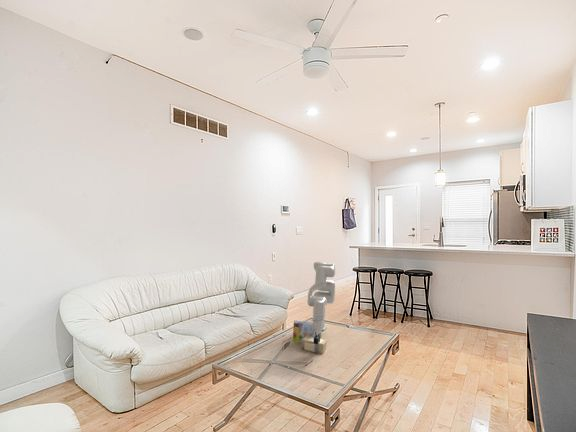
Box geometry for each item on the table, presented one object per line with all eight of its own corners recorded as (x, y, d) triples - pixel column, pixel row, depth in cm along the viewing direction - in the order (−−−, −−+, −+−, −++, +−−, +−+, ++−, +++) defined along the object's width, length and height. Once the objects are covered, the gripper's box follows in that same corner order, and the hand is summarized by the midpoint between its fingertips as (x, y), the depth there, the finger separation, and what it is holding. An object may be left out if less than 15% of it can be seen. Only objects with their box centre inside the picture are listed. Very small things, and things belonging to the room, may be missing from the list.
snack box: (320, 341, 244) (321, 322, 243) (320, 344, 238) (321, 325, 238) (293, 338, 246) (294, 319, 246) (292, 342, 241) (293, 322, 240)
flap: (301, 349, 228) (301, 333, 228) (302, 348, 231) (303, 332, 230) (317, 353, 223) (318, 337, 222) (318, 352, 225) (319, 336, 225)
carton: (305, 343, 238) (306, 335, 238) (326, 348, 232) (326, 340, 232) (302, 348, 231) (302, 339, 231) (323, 353, 225) (323, 344, 224)
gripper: (317, 313, 232) (316, 337, 233) (308, 319, 218) (307, 345, 219) (327, 315, 229) (325, 340, 230) (318, 322, 214) (317, 348, 215)
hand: (316, 342), depth 224 cm, fingers closed on flap, 2 cm apart
